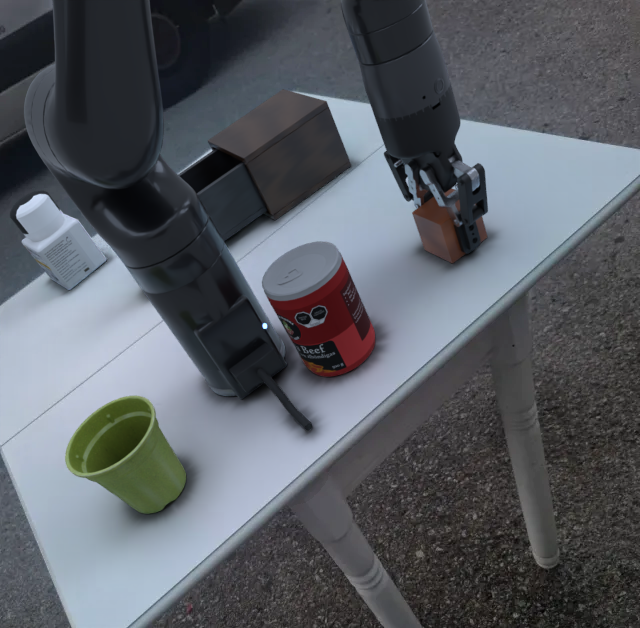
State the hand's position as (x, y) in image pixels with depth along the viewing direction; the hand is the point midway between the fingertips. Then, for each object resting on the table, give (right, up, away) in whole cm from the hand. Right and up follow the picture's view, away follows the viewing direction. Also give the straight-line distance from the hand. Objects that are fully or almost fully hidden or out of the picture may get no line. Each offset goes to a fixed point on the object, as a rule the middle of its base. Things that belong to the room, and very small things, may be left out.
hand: (455, 240), depth 77 cm
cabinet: (-19, +15, +26) cm, 35 cm away
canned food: (-12, -13, -4) cm, 18 cm away
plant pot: (-30, -27, -7) cm, 41 cm away
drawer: (-29, +8, +23) cm, 38 cm away
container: (-53, +4, +34) cm, 63 cm away
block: (0, 0, 0) cm, 0 cm away
